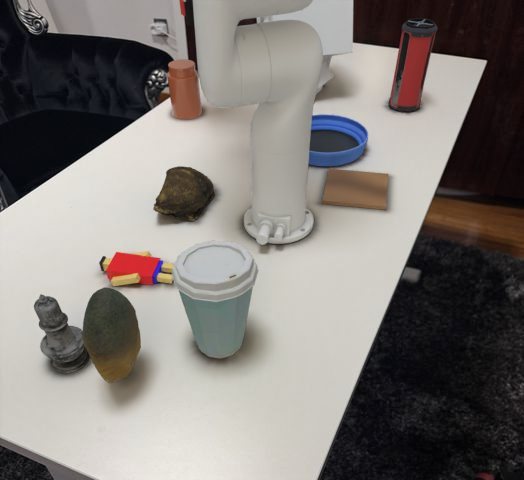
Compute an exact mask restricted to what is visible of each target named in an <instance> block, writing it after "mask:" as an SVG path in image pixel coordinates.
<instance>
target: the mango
mask: <svg viewBox="0 0 524 480" xmlns="http://www.w3.org/2000/svg"><path fill="white" fill-rule="evenodd" d="M82 331H83V335H82V337H83V343H84V346H85V348H86V350H87V351H88V353H89V355H90V359H91V361H92V364H93V366H94V367H95V369H96V371H97V373H98V374H99V375H100V377H101V379H103V381H104V382H105V383H107V384H113V383H115V382H118V381H120V380H121V379H122V380H126V379H127V378H128V377H129V375H130V374H131V373H132V371H133V369H134V366H135V363H136V362H137V361H136V360H137V358H138V355H139V354H140V350H141V348H142V344H141V343H142V340H141V338H142V337H141V330H140V327H139V320H138V316H137V311H136V308H135V307H134V306H133V304H132V303H131V301H130V300H129V298H127V297H126V295H124V294H123V293H122V292H120V291H118V290H117V289H115V288H112V287H108V286H107V287H102V288H99V289H97V290H96V291H95V292H93V293H92V295H91V296H90V298H89V299H88V302H87V305H86V308H85V310H84V316H83V322H82Z"/></svg>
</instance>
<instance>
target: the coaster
mask: <svg viewBox="0 0 524 480" xmlns="http://www.w3.org/2000/svg"><path fill="white" fill-rule="evenodd" d="M388 184H389V173H383V172H375V171H374V172H373V171H363V170H362V171H361V170H350V169H339V168H328V171H327V175H326V179H325V185H324V190H323V196H322V199H321V204H324V205H333V206H342V207H343V206H344V207H351V208H353V207H354V208H363V209H374V210H384V211H385V210H387V208H388V207H387V206H388V204H387V203H388V186H389V185H388Z"/></svg>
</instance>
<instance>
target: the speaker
mask: <svg viewBox="0 0 524 480" xmlns="http://www.w3.org/2000/svg"><path fill="white" fill-rule="evenodd" d="M437 32H438V26H437V24H436V23H435V21H434V20H432V19H429V18H421V17H419V18H418V17H416V18H415V17H414V18H409V19H407V20H406V21H405V22H404V23H402V25H401V36H400V41H399V46H398V51H397V57H396V63H395V69H394V75H393V78H392V79H393V80H392V85H391V90H390V97H388V98H389V99H388V106H389V107H390V108H391V109H393V110H395V111H397V112H401V113H403V112H407V113H411V112H414V111H417V110H419V109H420V108H421V105H422V95H423V92H424V86H425V82H426V77H427V73H428V68H429V64H430V60H431V55H432V51H433V47H434V42H435V38H436V33H437Z"/></svg>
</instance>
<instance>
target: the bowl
mask: <svg viewBox="0 0 524 480" xmlns="http://www.w3.org/2000/svg"><path fill="white" fill-rule="evenodd" d="M368 140H369V131H368V129H367V128H366V127H365V126H364V125H363V124H362V123H360V122H359V121H357V120H355V119H353V118H350V117H346V116H344V115H337V114H322V113H321V114H312V123H311V136H310V148H309V164H308V165H311V166H316V167H337V166H342V165H346V164H349V163H351V162H353V161H356V160H357V159H359V158H360V157H361V156H362V155H363V153H364V150H365V148H366V146H367V144H368Z"/></svg>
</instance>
